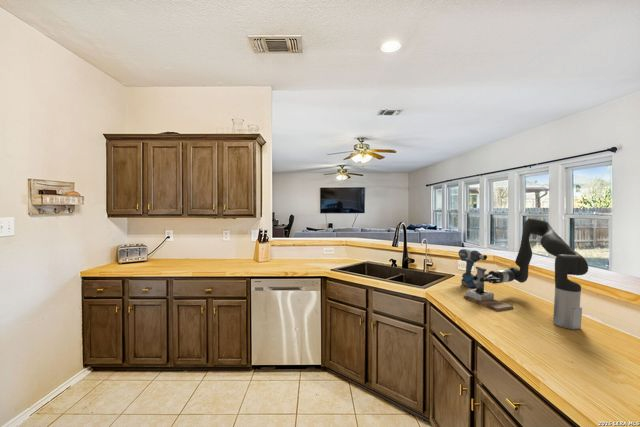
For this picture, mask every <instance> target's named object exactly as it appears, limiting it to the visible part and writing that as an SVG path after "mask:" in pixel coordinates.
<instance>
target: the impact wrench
mask: <svg viewBox="0 0 640 427" xmlns="http://www.w3.org/2000/svg"><path fill="white" fill-rule="evenodd" d="M458 256H459V258H460V260H461V261H463V262H466V266H465V272H464V273H463V274H462V275H461V277H462V278H461V280H460V281H461V285H463V286H464V287H467V288H471V289H473V288H476V283H477V280H473V276H475V275H474V274H472V271H473V270H472V269H473V267H474V266H475V263H476V262H478V261H480V260H481V261H486V260H487V259H488V256H487V254H482V253H480V252H479V250H475V249H474V250H473V249H466V248H465V249H464V248H462V249H459V251H458Z"/></svg>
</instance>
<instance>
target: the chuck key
mask: <svg viewBox="0 0 640 427" xmlns="http://www.w3.org/2000/svg"><path fill="white" fill-rule="evenodd" d="M475 269H476V274H477V283H476V287H475V289H476V292H477V293H484V290H485V282H480V278H485V274H486V272H487V268H483V267H480V266H475Z"/></svg>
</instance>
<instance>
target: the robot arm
mask: <svg viewBox="0 0 640 427" xmlns="http://www.w3.org/2000/svg"><path fill="white" fill-rule="evenodd" d="M531 235H535V236H539V237H541V238H540V245H541V247H542V248H543V249H544V251H546V252H547V254H550V255H552V256H554V257H555V259H554V283H555V284H554V299H553V300H554V301H553V316H552V323H553V324H554V325H556V326H557V327H560V328H564V329H569V330H573V331H574V330H579V329H581V328H582V316H583V307H581V295H582V294H581V292H582V285H581V284H580V283H577V282H575V281H572V280H570V279H569V278H568V275H569V276H584V275H586V274H587V273H588V272H589V264H588V261H587V260H586V258H585V257H584V256H583V255H582V254H580V253H578V252H577V251H575V250H574V249H573V248H572V247H571V246H570V245H569V244H567V242H566V241H564V239H563V238H562V237H560V236H559V234H558V233H557V232H555V230H554V229H553V227H552V226H551V224H550V223H549V222H547V221H546V220H542V219H539V218H533V217H529V218H527V220H526V222H525V223H524V225H523V230H522V234H521V239H520V240H521V241H520V246H519V249H518V253H517V255H516V258H515V261H514V263H515V265H517V267H519V268H517V267H514V266H511V267H508V268H507V269H503V270H502V269H497V270H490V271H488V273H485V278H480V282H484V283H489V284H494V285H497V284H504V283H510V282H513V281H516V282H518V283H521V284H522V283H525V282H526V281H528V278H529V269H530V268H529V266H530V263H531V261H532V258H533V250H532V247H531V243H530V237H531ZM473 280H477V273H476V274H475V275H474V276H473Z"/></svg>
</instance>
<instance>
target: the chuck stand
mask: <svg viewBox="0 0 640 427" xmlns="http://www.w3.org/2000/svg"><path fill="white" fill-rule="evenodd" d="M462 298H463V299H465V300H468V301H469V302H470V301H471V302H472V301H473V303H476V304H478V305H480V306H483V307H485V308H488V309H491V310H494V311H496V312H501V311H509V310H514V308H515V306H514V305H512V304H509V303H505V302H503V301H500V300H497V299H495V293H494V292H491V291H488V290H485V289H484V293H477V292H476V288H474V289H473V288H471V289H466V292H465V295H463V297H462Z"/></svg>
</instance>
